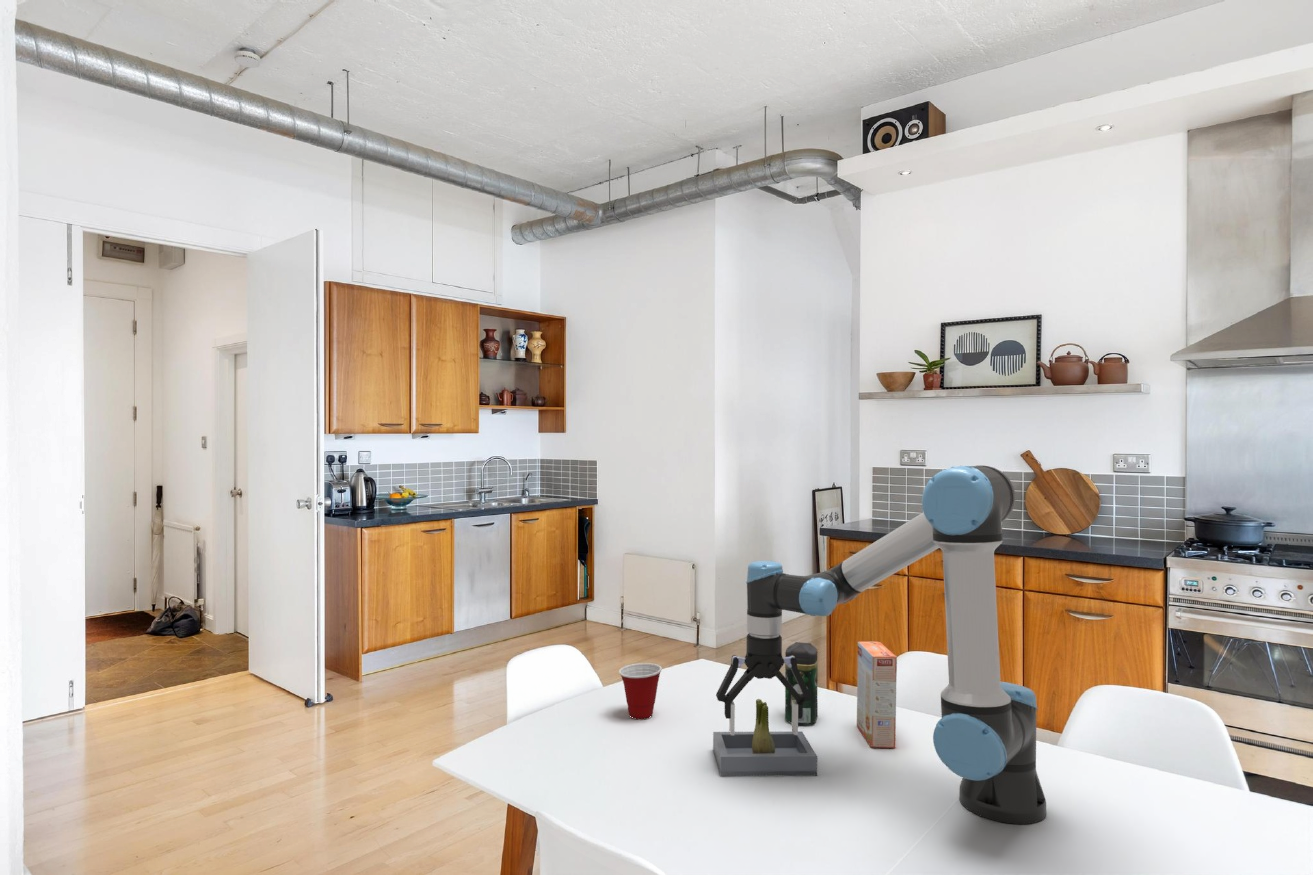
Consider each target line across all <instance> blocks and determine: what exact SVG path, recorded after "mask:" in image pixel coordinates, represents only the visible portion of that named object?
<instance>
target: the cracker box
mask: <svg viewBox="0 0 1313 875" xmlns="http://www.w3.org/2000/svg"><path fill="white" fill-rule="evenodd" d="M897 658H898V657H897V655H895V654H894V653H893V652H892V651H891V650H890V649H889V648H887V646H885V645H884V644H883V643H882V642H881V641H873V640H871V641H857V678H856V679H857V690H856V691H857V692H856V694H857V697H856V698H857V700H856V727H857V728H858V730H859V732H860V733H861V734H862V736H863V738H864V739H865V740H866V742H867V743H868V745H869V746H870V747H871V748H876V749H877V748H878V749H879V748H880V749H881V748H883V749H895V748H896V741H897V740H896V739H897V738H896V737H897V736H896V734H897V729H896V728H897V726H896V725H897V724H896V723H897V674H898V672H897V671H898V669H897V668H898V667H897V666H898V665H897V664H898V663H897V662H898V661H897V660H898V659H897Z"/></svg>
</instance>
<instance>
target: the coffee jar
mask: <svg viewBox="0 0 1313 875" xmlns="http://www.w3.org/2000/svg"><path fill="white" fill-rule="evenodd" d="M784 653H785V654H784V655H785V657H789V656H790V655H793V656H794V657H795V658H796V660H797V668H798V670H799V672H800V674H801V676H802V679H803V681H804V683H805V685H806V687H807V689H808V691H809V693H810V695H811V697H812V699H811V700H810V701H805V702H804V704H803V716H802V718H798V726H805V725H806V726H807V725H814V724H815V723H816V721H817V720H818V713H819V710H818V709H819V708H818V707H819V706H818V681H819V680H818V658H819V657H818V653H819V652H818V649H817V648H816V646H815V645H813V644H812V643H810V642H800V641H799V642H798V641H797V642H796V641H795V642H794V643H792V644H791V645H789V646H787V648H786V650H785V652H784ZM784 664H785V665H784V668H785V669H784V672H785V673H784V677H785V678H786V679H787V680H788V682H789V683H790V684H791V685H792V686H793V688H794V689H795V690H796V691H797V692H798V694H799V695H801V694H803V693H802V691H801V689H800V687H799V685H798V683H797V681H796V679H795V676H794V674H793V672H792V670H791V668H789V667H788V666H787V665H786V663H784ZM784 690H785V691H784V692H785V693H784V695H785V696H784V701H785V702H784V703H785V704H784V716H785V717H784V718H785V720H786V721H787V723H791V724H792V701H796V699H795V698H794V697H793V696H792V695H791V693H790V692H789V691H788V690H787V689H786V687H785V686H784Z"/></svg>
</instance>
